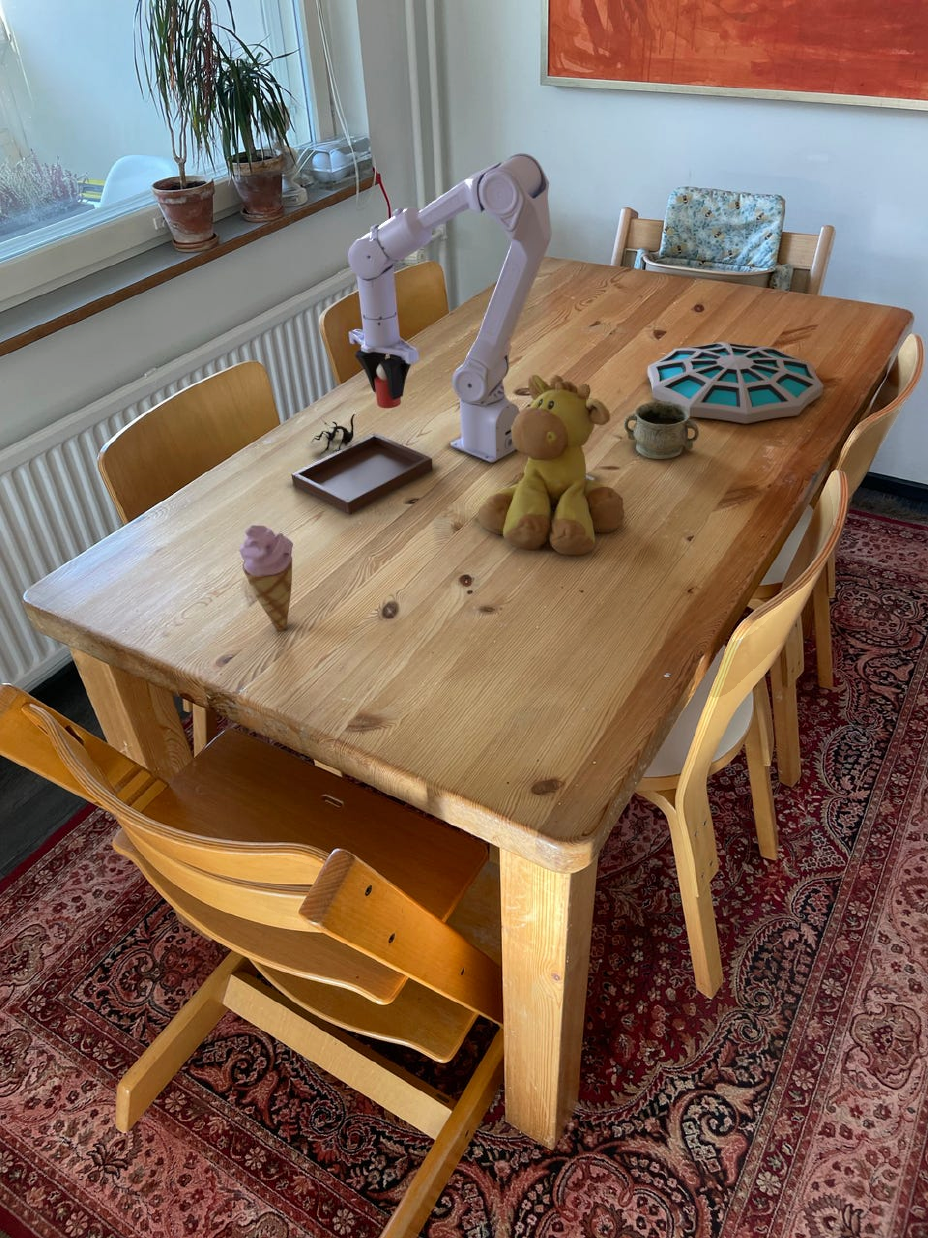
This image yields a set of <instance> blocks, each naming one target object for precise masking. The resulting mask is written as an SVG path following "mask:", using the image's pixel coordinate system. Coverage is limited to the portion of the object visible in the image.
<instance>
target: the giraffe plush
mask: <svg viewBox="0 0 928 1238" xmlns="http://www.w3.org/2000/svg"><path fill="white" fill-rule="evenodd" d="M527 382H528V383H527V385H528V392H529V396H530V397H531V398H532V400H533V402H532V403H531V405H530V406H529V407H528V408H526V409H523V410H522V411H521V412H520V411H519V412H520V413H519V414H518V415H517V417H516V418H515V420H514V423H513V425H512V428H511V436H512V442H513V445H514V447H515V448H516V450H517V451H518V452H520V453H522V455H524V456H526V457H528V458H527V463H526V465H525V467H524V469H523V471H522V472H518V474H517V475H516V477H517V482H518V483H515V484H514V485H512V486H507V487H504V488H501V489H498V490H497V491H496V492H494V493H493V494H492V495H490V496H488V497H487V498H486V499H484V501H482V503H481V504H480V506H479V507H478V508H477V520H478V523H480V525H481V526H482V527H483V528H485V530H487V531H489V532H492V533H494V534H496V535H503V537H504V540H505V541H506V542H507V543H509V544H510V545H512V546H514V547H515V548H517V549H523V550H537V549H540V548H541V547H542V546H543V545H544V544H545V543H546V542H547V541H548V540H549V544H550V546H551V547H552V549H553V550H554V551H556V552H557V553H558V554H561V555H565V556H583V555H585V554H587V553H589V552H590V551H591V550H592V549H593V548H594V546H595V543H596V536H595V533H610V532H614V531H615V530H617V529H618V528H619V527H620V525H621V524H622V522H623V521H624V519H625V518H624V517H625V513H626V512H625V509H624V500H623V499H624V498H623V497H622V495H620V494H619V493H617V491H615V489H614V488H612V487H609V486H605V485H603V484H601V483H599V482H598V481H596V478H595V477H593V476H591V475H589V474H587V464H586V458H585V453H584V450H583V446H584V445H585V444H586V443H587V442H588V441H589V438H590V436H591V435H592V433H593V432H594V429H595V426H597V425H598V426H604V425H606V424H608V423H609V422H610V420H611V414H610V410H609V409H608V408H607V406H606V404H605V403H603V402H602V401H601V400H599V399H597V398H594V397H590V394H591V387H590V385H589V384H587V383H582V384H579V385H578V387H577V385H575V384H574V383H573V382H571V381H566V380H563V378H562V377H561V376H560V375H558V374H556V375H554V376H553V377H551V379H550V382H549V384H548V383H547V382H546V381H545V380H543V379H542V378H541V377H540V376H539V375H537V374H532V375H530V376H529V378H528V381H527ZM551 509H553V510H555V511H554V515H553V518H552V513H551V511H552V510H551Z"/></svg>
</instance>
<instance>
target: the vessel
mask: <svg viewBox="0 0 928 1238" xmlns="http://www.w3.org/2000/svg"><path fill="white" fill-rule="evenodd" d="M634 412H635V413H634ZM634 412H633V413H629V414H628V415H627V416H626V417H625V419H624V423H623V425H624V430H625V431H626V433H627V439H628V440H630V441H635V440H636V444H635V449H636V451H637V452H638V453H639V455H640V456H641V455H642V456H643V457H645V458H649V459H653V460H667V459H672V458H675V457H678V456H679V455H680V454H681V453H683V445H684V444H685V449H686V450H690V449H692V448H693V447H694V442H696V441H697V440H698V438H699V435H700V431H699V428H698V426H697V425H698V424H696V422H695V421H693V420H689V419H690V418H691V417H690V412H689V411H688V410H687V409H686V408H685V407H684V406H682V405H680V404H677V403H673V402H663V401H660V400H655V401H650V402H646V403H643V404H641V405H639V406H638V407H636V409H635V411H634ZM631 421H634V422H635V423H634V425H633V429H630V427H629V423H630V422H631ZM689 429H692V430H693V431H694V436H693V437H691V438H690V437H689Z"/></svg>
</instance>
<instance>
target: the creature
mask: <svg viewBox="0 0 928 1238" xmlns="http://www.w3.org/2000/svg"><path fill="white" fill-rule="evenodd" d="M355 416H356V413H353V414H352V416H351V417H350V420H349V422H350V423H349V424H350V432H349V430H348V428H346V427H344V426H342V425H338V424H337V422H336V421H332V424H334V425H335V426H330V425H329V423H327V422H325V420H323V419H321V421H322V422H323V423H324V425H325V426H327V427H326V428H327V430H321V432H320V434H318V435H316V436H314V437H313V439H312V441H311V443H310V444H312V443H313V442H314V440H316V441H320V440H321V438H322V437H323V435H325V437H326V439H327V444H326V447H325V449H324V450H323V451H321V452H320V453H318V454H317V455H316V456H317V457H319V456H321V455H323V454H324V453H325V452H327V451H330V449H329V448H330V444H331V442H332V443H335V441H334V439H335V438H336V434H337V433H340V431H339V430H342V433H343V434H342V439H340V441H341V442H340V444H339V446H338V449H335V450H332V452H333V451H335V452H337V451H339V450H341V447H342V445H343V444H344V445H345V446H346V447H348V446H347V445H348V444H349V443H351V441H353V438H354V417H355ZM328 426H329V428H330V429H332V431H331V432H330V430H329V428H328ZM324 432H325V433H324ZM337 441H339V440H336V442H337Z"/></svg>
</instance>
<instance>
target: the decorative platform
mask: <svg viewBox="0 0 928 1238" xmlns="http://www.w3.org/2000/svg"><path fill="white" fill-rule="evenodd" d="M646 373H647V377H648V379H649V381H650V384H651V398H653V399H655V400H657V401H663V402H673V403H677V404H680V405H682V406H684V407H685V408H686V409H687V410H688V411H689V412H690V418H691V417H692V418H703V419H714V420H721V421H728V422H734V423H740V424H746V425H747V424H751V423H756V422H760V421H766V420H771V419H772V420H773V419H777V418H786V417H794V416H795V417H797V416H799V415H800V413H802V411H803V410H804V409H805V408H806V407H807V406H808V405H810V404H811V403H812V402H813V401H815V400H816V399H818V398H820V397H821V396H822V395H823V392H824V384H823V383H822V381H821V380H820V379H819V378H818V376H817V375H816V372H815V370H814V367H813V364H812V362H809V361H806V360H803V359H801V358H798V357H795V356H792V355H790V354H787V353H786V352H783V351H781V350H779V349H777V348H776V347H775V348H774V347H773V346H759V345H749V344H738V343H731V342H724V341H718V342H714V343H708V344H702V345H695V346H689V347H687V346H686V347H679V348H678V347H677V348H674V349H672V350H671V351H670V352H669V353H668V354H666V355H665V356H664V357H662V358H660V359H658V360H657V361H655V362H653V363H650V364H648V366H647V372H646Z"/></svg>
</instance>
